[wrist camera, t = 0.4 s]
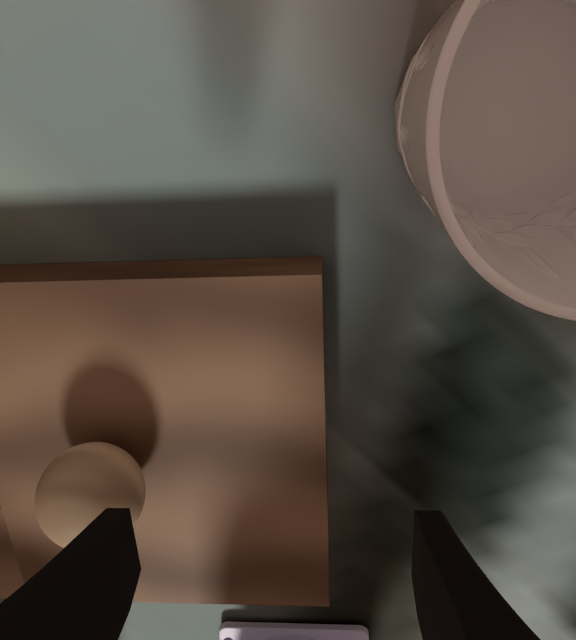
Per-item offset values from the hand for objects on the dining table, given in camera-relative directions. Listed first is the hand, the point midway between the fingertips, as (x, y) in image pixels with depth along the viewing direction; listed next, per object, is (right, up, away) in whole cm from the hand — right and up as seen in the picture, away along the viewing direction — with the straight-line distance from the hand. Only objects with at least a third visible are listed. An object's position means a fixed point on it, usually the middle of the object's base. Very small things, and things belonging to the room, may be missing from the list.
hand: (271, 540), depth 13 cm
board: (-9, 0, +11) cm, 14 cm away
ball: (-7, -1, +7) cm, 10 cm away
